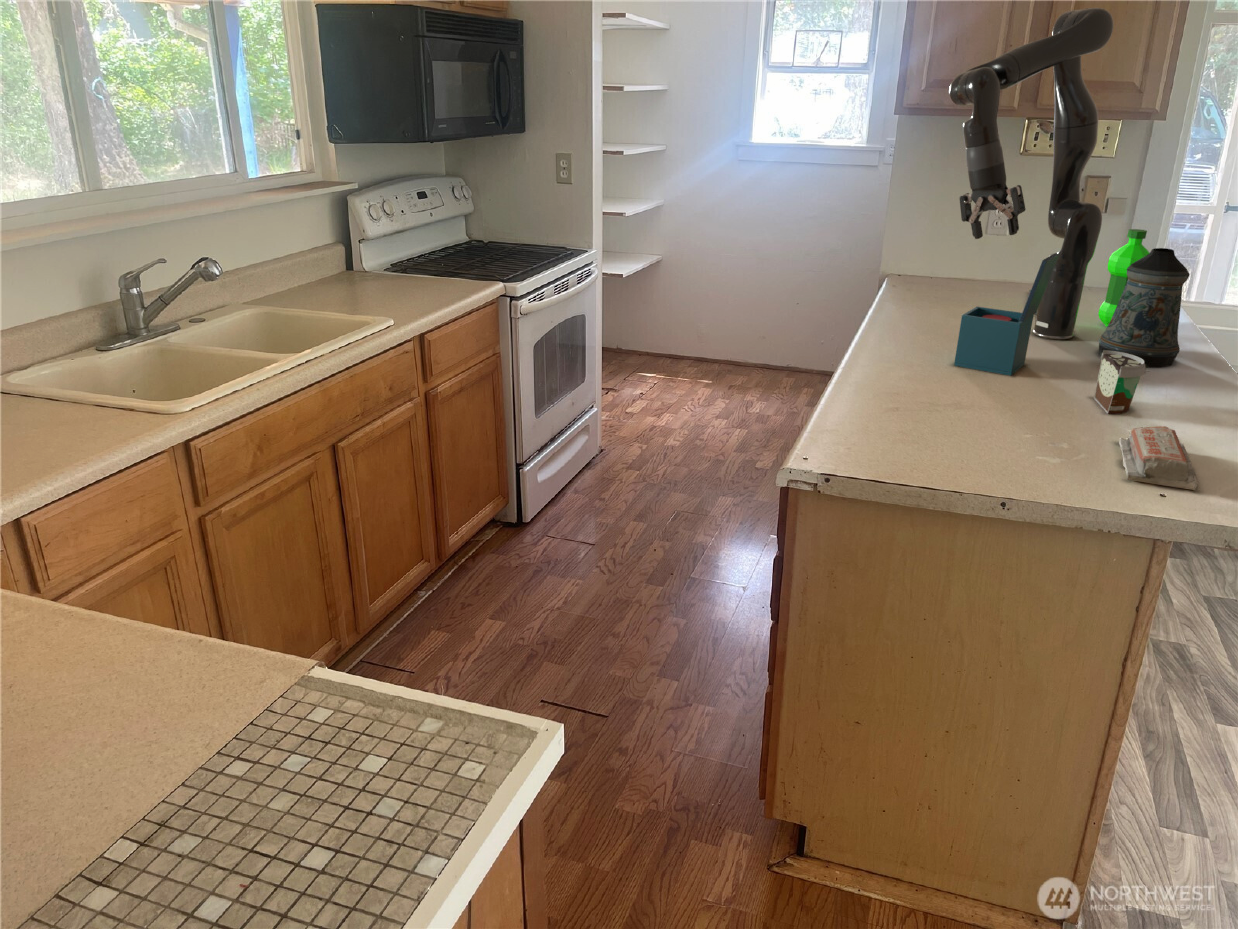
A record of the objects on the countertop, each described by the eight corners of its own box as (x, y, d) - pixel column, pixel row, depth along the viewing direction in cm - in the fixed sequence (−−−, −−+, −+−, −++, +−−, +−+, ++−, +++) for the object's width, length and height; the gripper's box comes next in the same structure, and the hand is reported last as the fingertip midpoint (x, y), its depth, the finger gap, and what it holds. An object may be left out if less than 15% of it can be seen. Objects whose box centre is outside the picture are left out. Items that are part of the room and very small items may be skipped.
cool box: (953, 365, 200) (961, 315, 195) (968, 355, 207) (976, 306, 203) (1010, 375, 193) (1020, 323, 188) (1024, 364, 200) (1033, 314, 195)
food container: (1144, 418, 168) (1157, 369, 164) (1110, 416, 169) (1122, 367, 165) (1124, 398, 179) (1135, 350, 175) (1091, 396, 180) (1102, 349, 176)
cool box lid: (1042, 259, 181) (1046, 261, 181) (1055, 252, 189) (1059, 253, 188) (1019, 320, 188) (1023, 322, 187) (1032, 311, 196) (1036, 312, 195)
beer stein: (1103, 364, 200) (1129, 254, 190) (1088, 342, 217) (1110, 240, 207) (1185, 370, 196) (1215, 258, 186) (1162, 347, 213) (1189, 244, 203)
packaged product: (1205, 464, 136) (1133, 454, 139) (1197, 492, 138) (1126, 481, 141) (1188, 426, 151) (1123, 418, 154) (1181, 451, 153) (1117, 443, 156)
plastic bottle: (1129, 333, 225) (1152, 234, 215) (1087, 325, 232) (1108, 230, 222) (1144, 326, 231) (1167, 230, 221) (1102, 319, 238) (1123, 226, 228)
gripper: (1025, 154, 189) (1034, 228, 194) (966, 165, 201) (976, 234, 206) (1006, 163, 185) (1016, 238, 191) (947, 173, 197) (958, 243, 202)
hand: (995, 236), depth 198 cm, fingers open, 8 cm apart
